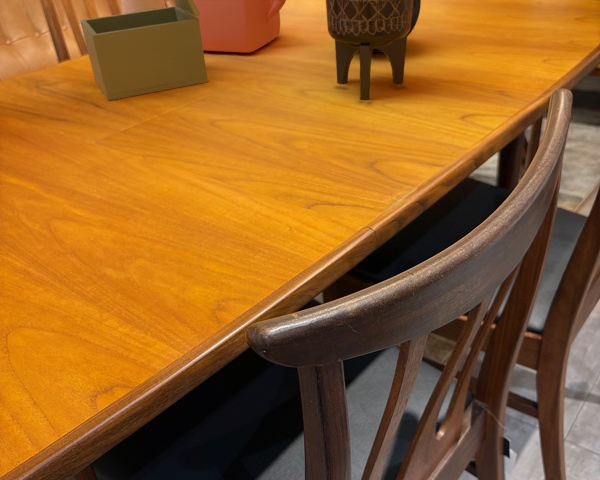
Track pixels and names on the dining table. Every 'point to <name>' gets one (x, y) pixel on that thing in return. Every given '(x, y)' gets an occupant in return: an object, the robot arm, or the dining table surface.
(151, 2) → the mug
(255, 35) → the teapot
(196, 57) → the chest
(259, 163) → the dining table surface
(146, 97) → the dining table surface
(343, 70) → the planter
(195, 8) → the lid
